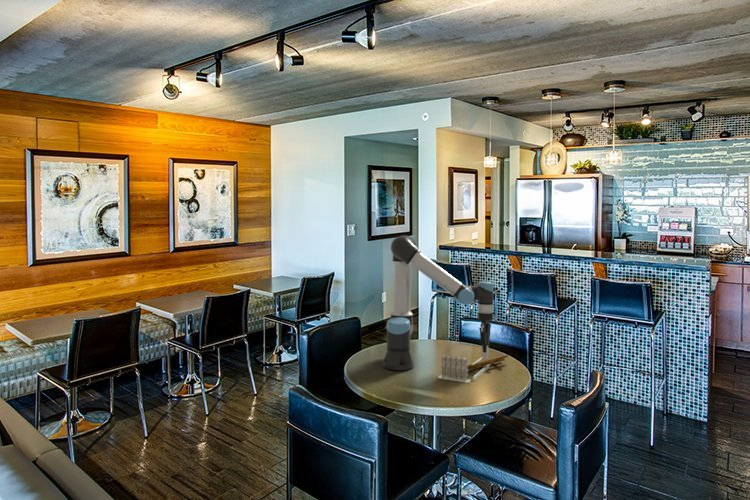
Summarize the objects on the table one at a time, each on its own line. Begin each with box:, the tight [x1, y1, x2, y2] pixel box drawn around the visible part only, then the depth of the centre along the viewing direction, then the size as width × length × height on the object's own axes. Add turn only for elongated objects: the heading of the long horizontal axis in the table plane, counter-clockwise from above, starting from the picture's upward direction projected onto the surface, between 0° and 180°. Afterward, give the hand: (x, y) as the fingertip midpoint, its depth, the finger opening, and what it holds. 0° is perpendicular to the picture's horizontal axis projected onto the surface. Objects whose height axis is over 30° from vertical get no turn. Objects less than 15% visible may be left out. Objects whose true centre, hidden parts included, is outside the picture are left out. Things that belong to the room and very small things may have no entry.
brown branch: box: [467, 354, 509, 371], centre depth 245 cm, size 25×2×10 cm
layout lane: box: [467, 356, 492, 381], centre depth 243 cm, size 8×37×2 cm, turn 151°
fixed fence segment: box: [441, 354, 468, 381], centre depth 228 cm, size 2×12×10 cm, turn 61°
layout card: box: [436, 374, 472, 384], centre depth 227 cm, size 15×4×1 cm, turn 61°
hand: (485, 358), depth 253 cm, fingers closed
